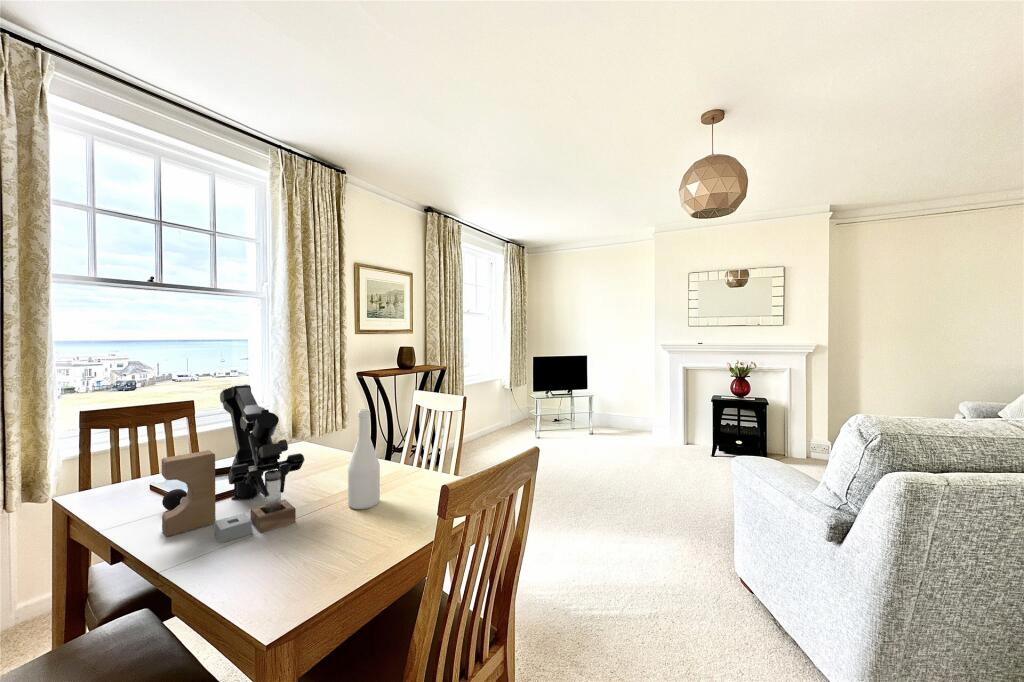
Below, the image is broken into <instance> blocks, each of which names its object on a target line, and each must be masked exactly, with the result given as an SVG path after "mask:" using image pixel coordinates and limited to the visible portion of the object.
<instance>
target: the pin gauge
mask: <svg viewBox="0 0 1024 682" xmlns="http://www.w3.org/2000/svg"><path fill="white" fill-rule="evenodd" d="M264 485H265V487H266V491H267V497H264V505H265V514H268V513H271V512H275V511H278V510H281V500H282V493H281V470H278V469H274V470H270V471H265V473H264Z"/></svg>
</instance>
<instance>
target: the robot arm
mask: <svg viewBox="0 0 1024 682" xmlns="http://www.w3.org/2000/svg"><path fill="white" fill-rule="evenodd" d="M219 401H220V403H222V406H223V409H224V410H225V411H226V412H227V413H228V414H230V418H231V424H232V430H233V434H234V435H233V436H234V441H235V446H236V447H235V448H236V454H235V457H234V459H233V460H232V464H231V467H230V469H229V473H228V475H227V476H228V477H227V480H228V484H229V485H233V492H234V493H233V496H232V497H231V498H230V499H231V500H251V499H254V498H255V497H257V496H258V495H259V494H261V495H263V497H264V498H265V497H267V491H266V487H265V481H264V479H263V476H264V474H265V473H264V472H267V471H270V470H281V494H283V493H284V492H285V485H286V484H285V483H286V476H287V475H288V474H289V473H290V472H295V471H299V470H301V468H302V466H303V464H304V462H305V457H304V455H303V454H302V453H299V452H298V453H294V454H288V455H287V458H286V460H285V459H284V460H281V461H279V460H280V459H281V455H282V454H283V452H286V451H288V450H289V445H288V441H287V439H281V440H279V441H277V442H273V439H272V436H274V435H275V431H276V428H277V426H278V425H279V420H280V418H279V416H278V415H277V414H275V413H274V412H270V410H269V409H267V408H265V407H262V406H259V405H258V403H257V400H256V398H255V396H254V395H253V393H252V387H251V385H250V384H248V383H246V384H234V385H232V386H231V387H229V388H224V389H223V390H221V392H220V394H219Z"/></svg>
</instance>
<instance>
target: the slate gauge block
mask: <svg viewBox="0 0 1024 682" xmlns="http://www.w3.org/2000/svg"><path fill="white" fill-rule="evenodd" d="M213 525H214V530H213V531H214V536H215V537H216V538H217V540H218V542H219V543H220V544H223V543H225V542H229V541H232V540H235V539H239V538H242V537H246V536H250V535H253V534H252V533H253V532H252V531H253V530H252V529H253V524H252V521H251V518H250V516H248V515H247V514H246V513H245V512H242V513H239V514H235V515H232V516H228V517H224V518H221V519H217V520H216V521H214V524H213Z"/></svg>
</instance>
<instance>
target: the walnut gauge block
mask: <svg viewBox="0 0 1024 682" xmlns="http://www.w3.org/2000/svg"><path fill="white" fill-rule="evenodd" d="M296 509H297V508H296V507H294V505H292V504H291V503H290V502H289V501H288V500H287V499H286V498H285V499H281V510H278V511H275V512H271V513H268V514H265V504H262V505H258V506H254V507H250V520H251V521H252V527H254V528H255V529H256V530H257V531H258V533H260V534H261V533H264V532H267V531H270V530H271V531H272V530H274V529H277V528H281V527H285V526H288V525H290V524H294V523H296V517H297V516H296V511H297V510H296Z"/></svg>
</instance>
